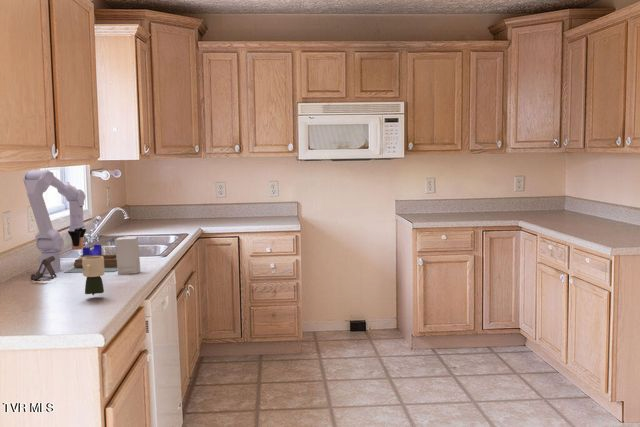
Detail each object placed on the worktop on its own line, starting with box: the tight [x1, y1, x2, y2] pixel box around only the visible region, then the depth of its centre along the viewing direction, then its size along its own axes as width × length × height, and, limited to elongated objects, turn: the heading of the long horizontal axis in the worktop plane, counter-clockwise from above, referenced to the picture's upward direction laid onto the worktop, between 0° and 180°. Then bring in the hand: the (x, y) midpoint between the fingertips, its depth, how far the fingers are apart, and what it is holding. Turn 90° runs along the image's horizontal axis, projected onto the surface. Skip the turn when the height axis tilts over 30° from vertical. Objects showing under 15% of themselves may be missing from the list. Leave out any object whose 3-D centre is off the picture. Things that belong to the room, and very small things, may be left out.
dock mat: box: [63, 266, 118, 274], centre depth 264 cm, size 16×21×1 cm
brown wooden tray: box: [73, 254, 117, 268], centre depth 272 cm, size 14×20×3 cm
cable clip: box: [82, 244, 103, 257], centre depth 295 cm, size 12×4×6 cm, turn 172°
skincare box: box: [114, 236, 141, 275], centre depth 253 cm, size 8×6×15 cm
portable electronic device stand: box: [30, 256, 58, 282], centre depth 244 cm, size 9×8×8 cm
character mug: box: [82, 256, 105, 296], centre depth 212 cm, size 11×7×13 cm, turn 0°
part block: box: [71, 237, 85, 250], centre depth 278 cm, size 4×4×5 cm
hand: (77, 245), depth 278 cm, fingers closed on part block, 4 cm apart
